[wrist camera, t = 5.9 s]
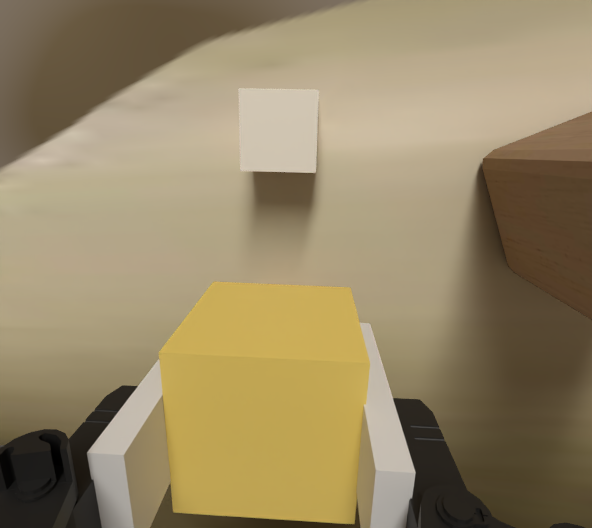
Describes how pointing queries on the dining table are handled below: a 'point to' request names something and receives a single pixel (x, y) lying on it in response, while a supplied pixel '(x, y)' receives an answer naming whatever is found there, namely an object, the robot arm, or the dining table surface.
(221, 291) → the mustard cube
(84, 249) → the dining table surface
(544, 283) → the wooden block
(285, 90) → the cream cube
